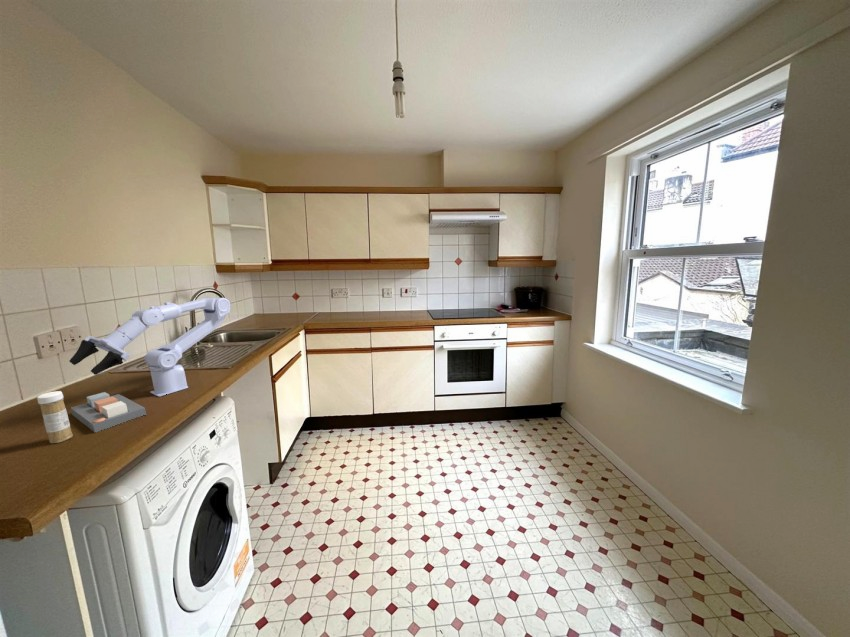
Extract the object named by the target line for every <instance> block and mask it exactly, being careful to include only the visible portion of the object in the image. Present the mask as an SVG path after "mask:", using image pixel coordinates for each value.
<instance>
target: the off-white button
mask: <svg viewBox="0 0 850 637" xmlns="http://www.w3.org/2000/svg"><path fill="white" fill-rule="evenodd" d="M102 411H103V415H104V417H106V418H110V417H114V416H117V415H120V414H123V413H126V412H128V410H127V406H126V404H125V403H124V402H122V401H119V402H116V403H112V404H109V405H106V406H102Z"/></svg>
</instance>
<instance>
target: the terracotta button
mask: <svg viewBox="0 0 850 637" xmlns="http://www.w3.org/2000/svg"><path fill="white" fill-rule="evenodd" d="M111 396H112V397H108V398H105V399H101V400H98V401H94V405H95V409H96V411H97V412H98V413H100V412H103V411H102V406H106V405H109V404H112V403H116V402H118V399H116V398H115V397H113V396H114V395H111Z"/></svg>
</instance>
